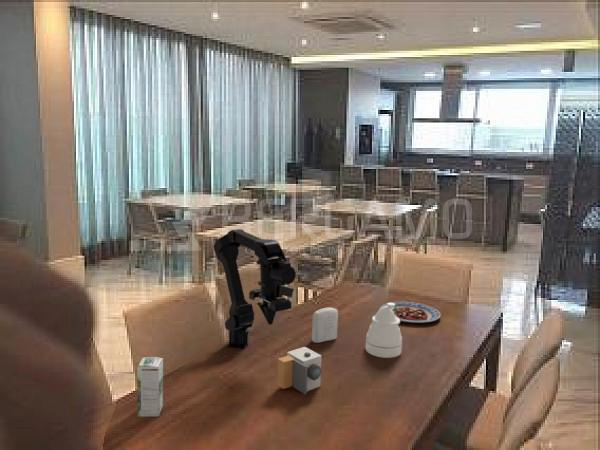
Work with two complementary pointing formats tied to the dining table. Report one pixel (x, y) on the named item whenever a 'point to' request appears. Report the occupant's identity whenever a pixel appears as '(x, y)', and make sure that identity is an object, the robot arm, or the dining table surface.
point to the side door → (292, 374)
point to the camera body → (309, 365)
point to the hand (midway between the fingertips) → (270, 324)
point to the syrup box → (150, 387)
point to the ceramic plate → (414, 312)
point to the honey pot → (384, 334)
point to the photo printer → (324, 325)
